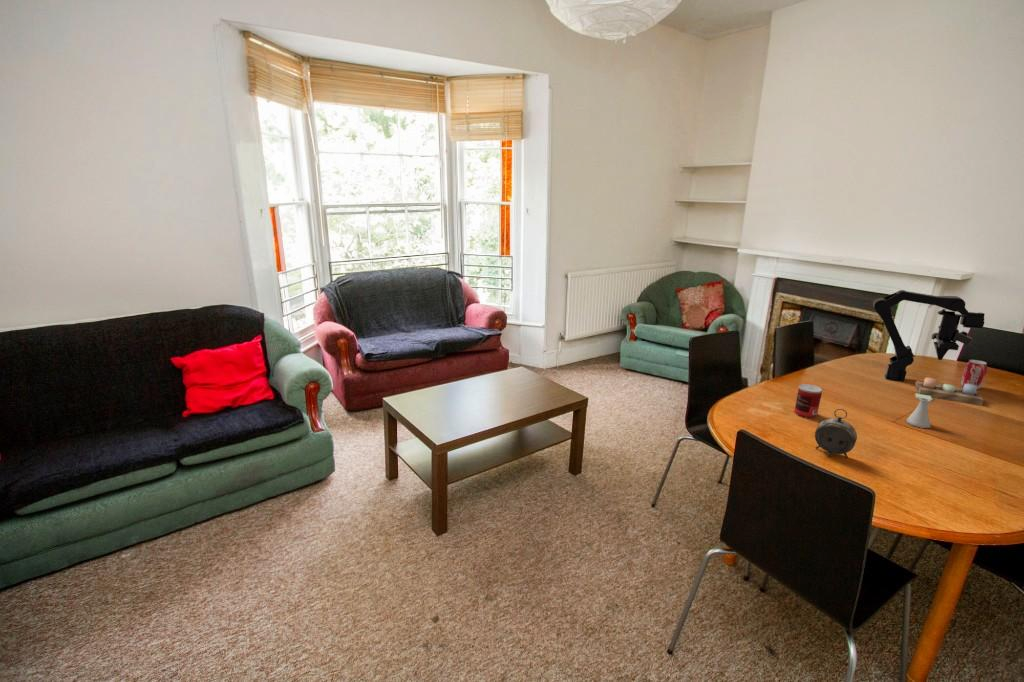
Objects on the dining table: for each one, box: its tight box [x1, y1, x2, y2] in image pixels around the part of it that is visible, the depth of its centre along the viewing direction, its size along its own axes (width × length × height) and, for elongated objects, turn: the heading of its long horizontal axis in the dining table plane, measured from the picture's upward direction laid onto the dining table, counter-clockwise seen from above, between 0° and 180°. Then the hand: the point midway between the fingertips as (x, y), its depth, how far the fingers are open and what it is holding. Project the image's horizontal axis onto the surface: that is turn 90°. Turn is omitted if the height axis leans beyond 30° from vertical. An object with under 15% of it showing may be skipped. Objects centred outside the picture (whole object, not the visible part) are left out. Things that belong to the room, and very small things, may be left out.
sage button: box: [942, 383, 957, 392], centre depth 206 cm, size 4×4×4 cm
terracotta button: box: [923, 377, 938, 389], centre depth 209 cm, size 4×4×4 cm
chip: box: [914, 392, 933, 402], centre depth 204 cm, size 5×5×1 cm
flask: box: [906, 398, 931, 429], centre depth 179 cm, size 7×7×10 cm
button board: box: [914, 380, 984, 406], centre depth 207 cm, size 20×12×2 cm, turn 59°
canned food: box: [793, 383, 823, 419], centre depth 186 cm, size 8×8×11 cm
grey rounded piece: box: [962, 384, 978, 396], centre depth 203 cm, size 4×4×4 cm
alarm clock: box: [814, 408, 858, 459], centre depth 156 cm, size 11×5×16 cm, turn 49°
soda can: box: [960, 359, 988, 390], centre depth 215 cm, size 7×7×12 cm
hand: (939, 359), depth 215 cm, fingers closed
